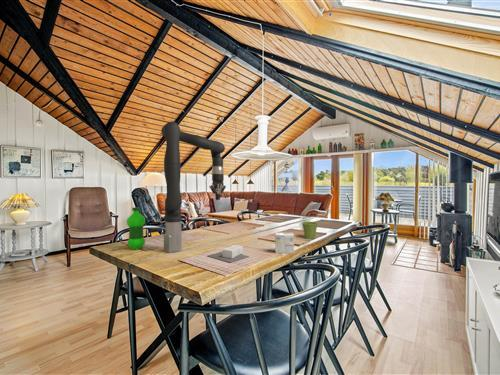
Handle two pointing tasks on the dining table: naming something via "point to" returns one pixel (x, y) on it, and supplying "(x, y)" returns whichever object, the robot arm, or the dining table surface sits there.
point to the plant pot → (309, 229)
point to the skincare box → (232, 251)
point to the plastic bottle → (136, 229)
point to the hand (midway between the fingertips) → (217, 199)
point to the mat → (230, 260)
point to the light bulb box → (284, 243)
